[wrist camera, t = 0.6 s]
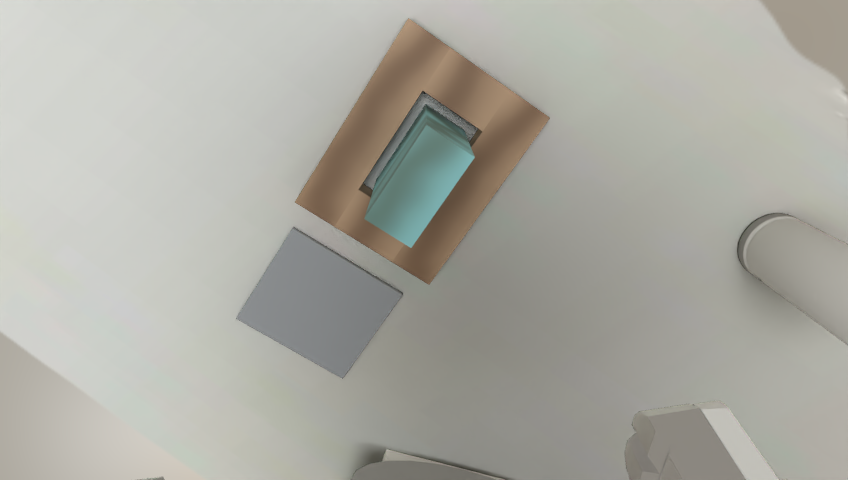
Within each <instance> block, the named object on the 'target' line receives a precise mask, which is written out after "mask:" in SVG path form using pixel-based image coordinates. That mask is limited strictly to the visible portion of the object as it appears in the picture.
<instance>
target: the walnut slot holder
mask: <svg viewBox="0 0 848 480" xmlns="http://www.w3.org/2000/svg"><path fill="white" fill-rule="evenodd" d="M422 91H424V92H426V93H427V94H428V95H430V96H431V97H433V98H434V99H436V100H437V101H439V102H440V103H442V104H443V105H445V106H446V107H448V108H449V109H450V110H452V111H453V112H455V113H456V114H458V115H459V116H461V117H462V118H464V119H465V120H467V121H468V122H470V123H471V124H472V125H474V126H475V127H477V128H478V130H477V132H476V133H475V135H474V136H473V138H472V139H471V141H470V142H469V144H470V146H471V149H472V151H473V154H474V156H475V158H474V159H473V161H472V162H471V163H470V165H469V166H468V168H467V169H466V171H465V172H464V173H463V175H462V176H461V178H460V179H459V181H458V182H457V183H456V185H455V186H454V188H453V189H452V191H451V192H450V193H449V195H448V196H447V198H446V199H445V201H444V202H443V203H442V205H441V206H440V208H439V209H438V211H437V212H436V213H435V215H434V216H433V218H432V219H431V221H430V222H429V223H428V225H427V226H426V228H425V229H424V231H423V232H422V233H421V235H420V236H419V238H418V239H417V241H416V242H415V243H414V245H413V246H412V248H410V247H408V246H407V245H405V244H404V243H402V242H400V241H399V240H397V239H396V238H394V237H392V236H391V235H389V234H388V233H386V232H384V231H383V230H381V229H380V228H378V227H376V226H375V225H373V224H372V223H370V222H368V221H367V220H365V219H364V218H365V215H366V212H367V208H368V205H369V202H370V199H371V196H372V192H373V190H372V189H370V188H369V187H367V186H365V185H364V184H362V183H363V182H364V180H365V179H366V177H367V176H368V174H369V172H370V171H371V169H372V168H373V166H374V165H375V163H376V162H377V160H378V159H379V157H380V155H381V154H382V152H383V151H384V149H385V148H386V146H387V145H388V143H389V142H390V140H391V139H392V137H393V135H394V134H395V132H396V131H397V129H398V128H399V126H400V125H401V123H402V122H403V120H404V118H405V117H406V115H407V114H408V112H409V111H410V109H411V108H412V106H413V105H414V103H415V102H416V100H417V98H418V97H419V95H420V94H421V92H422ZM549 119H550V118H549V117H548V116H547V115H545V114H544V113H542V112H541V111H539V110H538V109H537V108H535V107H534V106H532V105H531V104H530V103H528V102H527V101H525V100H524V99H522V98H521V97H520V96H518V95H517V94H515V93H514V92H513V91H511V90H510V89H508V88H507V87H505V86H504V85H503V84H501V83H500V82H498V81H497V80H495V79H494V78H493V77H491V76H490V75H488V74H487V73H486V72H484V71H483V70H481V69H480V68H478V67H477V66H476V65H474V64H473V63H471V62H470V61H468V60H467V59H466V58H464V57H463V56H461V55H460V54H459V53H457V52H456V51H454V50H453V49H451V48H450V47H449V46H447V45H446V44H444V43H443V42H442V41H440V40H439V39H437V38H436V37H434V36H433V35H432V34H430V33H429V32H427V31H426V30H424V29H423V28H422V27H420V26H419V25H417V24H416V23H415V22H413V21H412V20H410V19H409V18H408V20H407V21H406V23H405V25H404V26H403V28H402V29H401V31H400V33H399V34H398V36H397V37H396V39H395V41H394V42H393V44H392V46H391V47H390V49H389V50H388V52H387V54H386V55H385V57H384V59H383V60H382V62H381V63H380V65H379V67H378V68H377V70H376V71H375V73H374V75H373V76H372V78H371V80H370V81H369V83H368V84H367V86H366V88H365V89H364V91H363V93H362V94H361V96H360V97H359V99H358V101H357V102H356V104H355V105H354V107H353V109H352V110H351V112H350V114H349V115H348V117H347V118H346V120H345V122H344V123H343V125H342V127H341V128H340V130H339V131H338V133H337V135H336V136H335V138H334V139H333V141H332V143H331V144H330V146H329V148H328V149H327V151H326V152H325V154H324V156H323V157H322V159H321V161H320V162H319V164H318V165H317V167H316V169H315V170H314V172H313V173H312V175H311V177H310V178H309V180H308V182H307V183H306V185H305V186H304V188H303V190H302V191H301V193H300V195H299V196H298V198H297V199H296V201H295V203H297V204H298V205H300V206H302V207H303V208H305V209H307V210H308V211H310V212H311V213H313V214H315V215H316V216H318V217H320V218H321V219H323V220H325V221H326V222H328V223H329V224H331V225H333V226H334V227H336V228H338V229H339V230H341V231H342V232H344V233H346V234H347V235H349V236H351V237H352V238H354V239H355V240H357V241H359V242H360V243H362V244H364V245H365V246H367V247H368V248H370V249H372V250H373V251H375V252H377V253H378V254H380V255H381V256H383V257H385V258H386V259H388V260H390V261H391V262H393V263H395V264H396V265H398V266H399V267H401V268H403V269H404V270H406V271H408V272H409V273H411V274H412V275H414V276H416V277H417V278H419V279H421V280H422V281H424V282H425V283H427V284H430V283H431V281H432V280H433V279H434V277H435V276H436V274H437V273H438V272H439V270H440V269H441V267H442V266H443V265H444V263H445V262H446V261H447V259H448V258H449V256H450V255H451V254H452V252H453V251H454V250H455V248H456V247H457V245H458V244H459V243H460V241H461V240H462V239H463V237H464V236H465V234H466V233H467V232H468V230H469V229H470V228H471V226H472V225H473V223H474V222H475V221H476V219H477V218H478V216H479V215H480V214H481V212H482V211H483V210H484V208H485V207H486V205H487V204H488V203H489V201H490V200H491V199H492V197H493V196H494V194H495V193H496V192H497V190H498V189H499V188H500V186H501V185H502V183H503V182H504V181H505V179H506V178H507V177H508V175H509V174H510V172H511V171H512V170H513V168H514V167H515V165H516V164H517V163H518V161H519V160H520V159H521V157H522V156H523V154H524V153H525V152H526V150H527V149H528V148H529V146H530V145H531V143H532V142H533V141H534V139H535V138H536V137H537V135H538V134H539V132H540V131H541V130H542V128H543V127H544V126H545V124H546V123H547V121H548V120H549Z"/></svg>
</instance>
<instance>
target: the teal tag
mask: <svg viewBox="0 0 848 480" xmlns="http://www.w3.org/2000/svg"><path fill="white" fill-rule="evenodd" d="M474 158H475V156H474V154H473V151H472V149H471V146H470V144H469V141H468V139H467V136H466V134H465V131H464V130H463V129H462V128H460V127H459V126H457V125H456V124H454V123H453V122H451V121H450V120H448V119H447V118H446V117H444V116H443V115H441V114H440V113H438V112H437V111H435V110H434V109H432V108H431V107H429V106H428V105H425V106H424V108H423V109H422V111H421V113H420V114H419V116H418V117H417V119H416V120H415V122H414V123H413V125H412V126H411V128H410V129H409V131H408V132H407V134H406V135H405V137H404V138H403V140H402V142H401V143H400V145H399V146H398V148H397V149H396V151H395V152H394V154H393V155H392V157H391V158H390V160H389V161H388V163H387V164H386V166H385V167H384V169H383V171H382V172H381V174H380V175H379V177H378V178H377V180H376V183H375V186H374V189H373V192H372V196H371V199H370V202H369V205H368V208H367V212H366V215H365V218H364V219H365V220H367V221H368V222H370V223H372V224H373V225H375V226H376V227H378V228H380V229H381V230H383V231H384V232H386V233H388V234H389V235H391V236H392V237H394V238H396V239H397V240H399V241H400V242H402V243H404V244H405V245H407V246H408V247H410V248H412V246H413V245H414V243H415V242H416V241H417V239H418V238H419V236H420V235H421V233H422V232H423V231H424V229H425V228H426V226H427V225H428V223H429V222H430V221H431V219H432V218H433V216H434V215H435V213H436V212H437V211H438V209H439V208H440V206H441V205H442V203H443V202H444V201H445V199H446V198H447V196H448V195H449V193H450V192H451V191H452V189H453V188H454V186H455V185H456V183H457V182H458V181H459V179H460V178H461V176H462V175H463V173H464V172H465V171H466V169H467V168H468V166H469V165H470V163H471V162H472V161H473V159H474Z"/></svg>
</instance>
